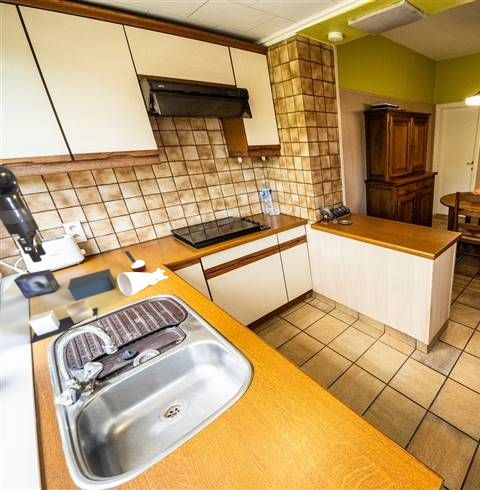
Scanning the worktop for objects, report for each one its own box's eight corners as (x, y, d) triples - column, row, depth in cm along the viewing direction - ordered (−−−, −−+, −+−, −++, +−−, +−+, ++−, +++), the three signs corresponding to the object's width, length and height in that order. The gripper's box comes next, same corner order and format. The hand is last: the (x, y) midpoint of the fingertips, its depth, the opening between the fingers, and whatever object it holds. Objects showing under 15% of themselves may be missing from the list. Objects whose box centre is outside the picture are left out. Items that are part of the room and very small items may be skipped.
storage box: (75, 301, 123) (67, 288, 120) (77, 291, 132) (70, 279, 129) (115, 288, 132) (109, 276, 129) (115, 280, 140) (109, 268, 137)
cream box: (74, 323, 107) (66, 310, 104) (75, 317, 110) (67, 305, 108) (92, 317, 110) (85, 304, 108) (93, 311, 114) (86, 299, 111)
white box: (37, 336, 101) (28, 322, 98) (40, 329, 104) (30, 316, 102) (58, 328, 104) (49, 315, 102) (60, 323, 108) (51, 310, 105)
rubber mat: (31, 343, 98) (30, 342, 98) (37, 328, 106) (36, 327, 106) (96, 320, 109) (96, 319, 109) (97, 307, 117) (97, 307, 117)
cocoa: (148, 272, 147) (140, 252, 142) (134, 276, 143) (125, 256, 138) (146, 266, 153) (138, 248, 148) (132, 270, 149) (123, 251, 145)
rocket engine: (163, 258, 138) (121, 267, 122) (176, 274, 137) (135, 286, 120) (156, 272, 143) (114, 283, 126) (168, 288, 141) (128, 301, 125)
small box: (24, 299, 127) (11, 280, 123) (32, 292, 133) (20, 274, 128) (54, 292, 132) (43, 274, 127) (61, 286, 137) (50, 268, 133)
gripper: (8, 218, 103) (30, 255, 110) (-4, 226, 93) (21, 267, 100) (36, 214, 108) (56, 250, 114) (28, 221, 98) (50, 260, 104)
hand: (40, 258), depth 107 cm, fingers open, 8 cm apart
